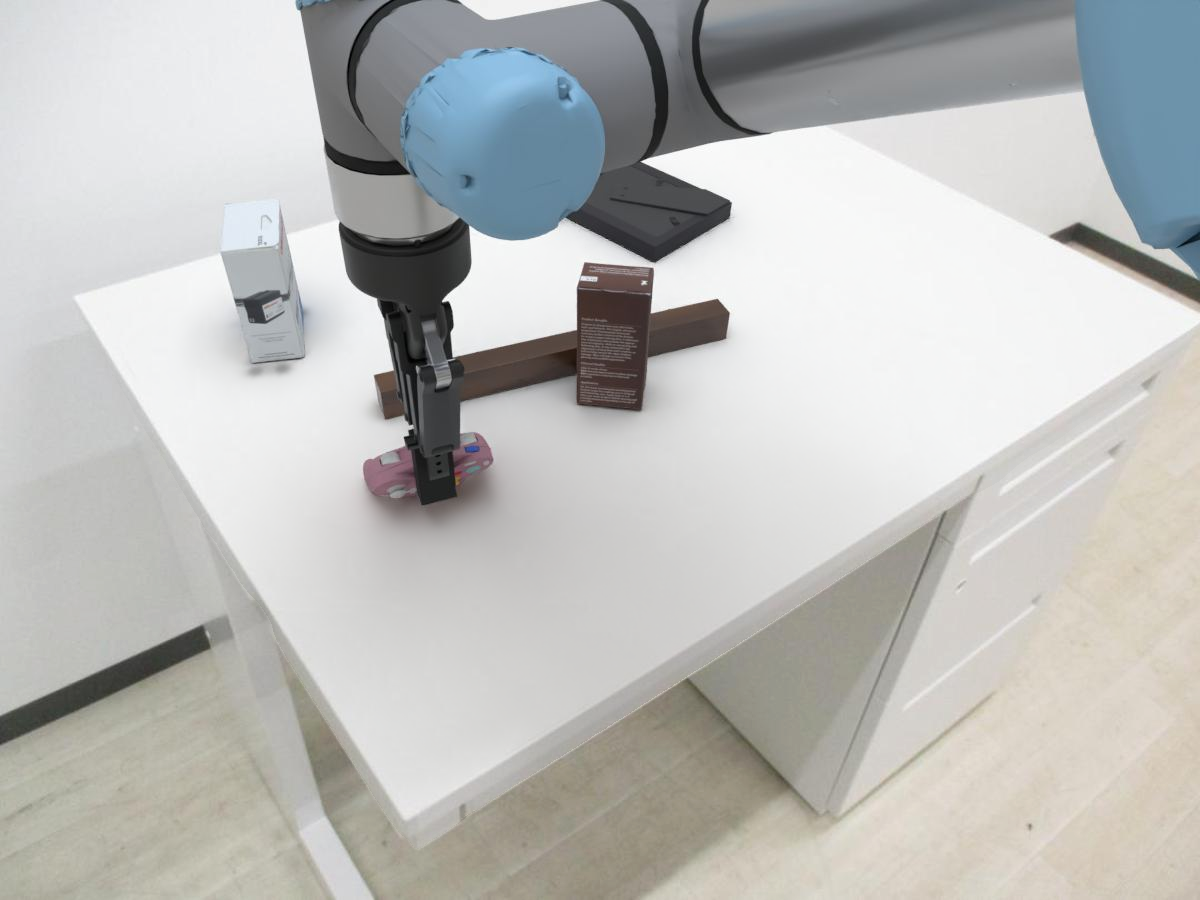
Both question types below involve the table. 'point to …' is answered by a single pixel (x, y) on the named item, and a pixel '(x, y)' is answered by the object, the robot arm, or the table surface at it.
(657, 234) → the picture frame
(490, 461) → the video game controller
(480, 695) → the table surface
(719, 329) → the straight edge
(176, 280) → the table surface
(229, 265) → the ink box
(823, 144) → the table surface
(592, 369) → the box
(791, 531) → the table surface
